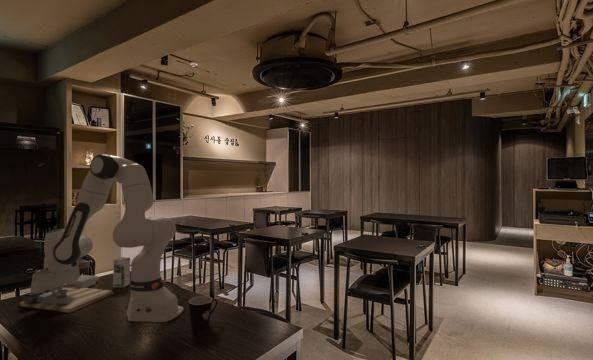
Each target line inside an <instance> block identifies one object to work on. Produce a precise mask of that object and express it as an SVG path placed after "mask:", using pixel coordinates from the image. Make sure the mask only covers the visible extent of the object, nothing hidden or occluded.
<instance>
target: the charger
mask: <svg viewBox="0 0 593 360" xmlns="http://www.w3.org/2000/svg"><path fill="white" fill-rule="evenodd" d="M100 277H101V276H100V275H99V276H97V275H95V274H93V275H89V274H82V275H79V279H78V280H77V281H74V282H71V283H68V284H65V287H66V286H75V287H83V288H90V287H92V286H93V287H94V286H96V283H97V281H98V280H100Z"/></svg>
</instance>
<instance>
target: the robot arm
mask: <svg viewBox="0 0 593 360" xmlns="http://www.w3.org/2000/svg"><path fill="white" fill-rule="evenodd" d="M89 164H90V165H89V171H88V172H87V174H86V175H85V177H84V180H83V182H82V185H81V187H80V191H79V195H78V197H77V200H76V203H75V206H74V208H73V209H72V211H71V214H70V216H69V219H68V222H67V224H66V226H65V228H58V229H55V230H50V231H48V232H47V233H46V234H45V238H44V244H43V252H44V255H45V256H44V259H43V269H39V270H36V271H35V272H34V273H33V274H32V275H31V277H32V279H31V283H30V284H31V285H30V292H32V293H41V292H44V291H45V292H46V291H49V292H51V293H52V294H59V295H61V293H59V291H60V290H62V289H63V287H64V285H65V286H66V284H68V283H71V282H74V281H77V280H78V279H79V276H80V268H79V263H80V262H79V261H78V260H79V259H81V258H83V257H85V256H86V255H88V254H89V253H90V252H91V251H92V249H93V246H94V245H93V241H92V239H90V238H89V237H88V236H86V235H83V231H84V229H85V227H86V224H87V223H88V221H89V219H91V217H93V215H95V214H96V213H98V212H99V211H100V210H103V208H104V206H105V205H106V202H107V200H108V198H109V195H110V192H111V187H112V185H113V184H116V183H119V184H121V189H122V195H123V199H124V200H123V201H124V208H125V209H124V214H123V216H122V219H121V220H120V221H119V222H118V223H117V224H116V225H115V227H114V229H113V231H112V240H113V242H114V244H115V245H116V246H118V247H119V248H129V249H130V248H131V249H132V248H138V247H143V248H142V249H141V251H140V252H139V253H138V254H137V255H136V256H134V257H133V259H132V261H131V262H130V285H129V289H130V293H129V301H128V307H127V310H126V317H127V321H128V322H145V323H166V322H168V321H171V320H173V319H176V318H177V317H178V316H180V315H182V313H183V312H184V307H183V306H180V305H179V304H178V303H179V302H178V298H177V295H176V294H174V293H173V292H171V291H170V290H169V289H168V288H167V287H165V285H164V283H166V280H167V279H166V278H165V279H163V278H162V276H161V263H162V256H163V253H164V251H165V249H166V247H167V246H168V244H169V243H170V241H171V240H172V239H173V238H174V237H175V235H176V233H177V227H176V224H175V222H174V220H173V219H171V218H169V217H151V218H150V217H149V218H146V212H147V211H148V210H150V209H151V208H152V206H153V205H154V203H155V200H154V195H153V191H152V186H151V183H150V179H149V176H148V174H147V171H146V169H145V167H144V166H143V165H142V164H139V163H138V162H136V161H135V160H131V159H127V158H124V157H122V156H117V155H110V154H107V153H106V154H104V153H102V154H97V155H94V157H92V159H91V161H90V163H89ZM55 290H57V291H55Z"/></svg>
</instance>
